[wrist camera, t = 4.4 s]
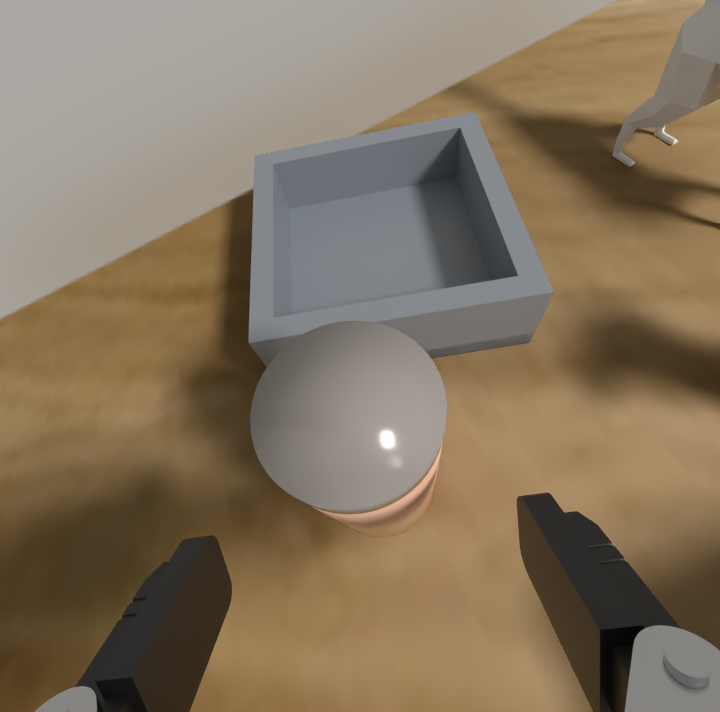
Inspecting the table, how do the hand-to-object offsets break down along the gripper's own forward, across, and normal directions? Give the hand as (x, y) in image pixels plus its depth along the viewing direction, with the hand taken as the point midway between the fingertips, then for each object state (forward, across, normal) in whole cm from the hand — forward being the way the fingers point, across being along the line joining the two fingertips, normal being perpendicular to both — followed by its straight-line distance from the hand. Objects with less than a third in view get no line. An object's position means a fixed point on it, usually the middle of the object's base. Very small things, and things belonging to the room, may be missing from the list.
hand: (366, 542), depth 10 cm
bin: (+17, -2, -6) cm, 18 cm away
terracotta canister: (+8, 0, +4) cm, 9 cm away
